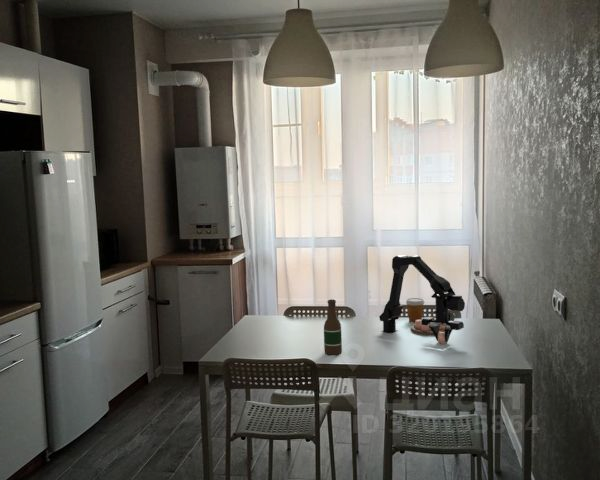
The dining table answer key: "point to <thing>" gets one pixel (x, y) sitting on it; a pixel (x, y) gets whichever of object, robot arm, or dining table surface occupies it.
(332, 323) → the beer bottle
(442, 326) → the bead
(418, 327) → the seated bead
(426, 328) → the seated bead
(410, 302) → the beer glass
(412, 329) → the tray
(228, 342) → the dining table surface
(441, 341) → the bead
